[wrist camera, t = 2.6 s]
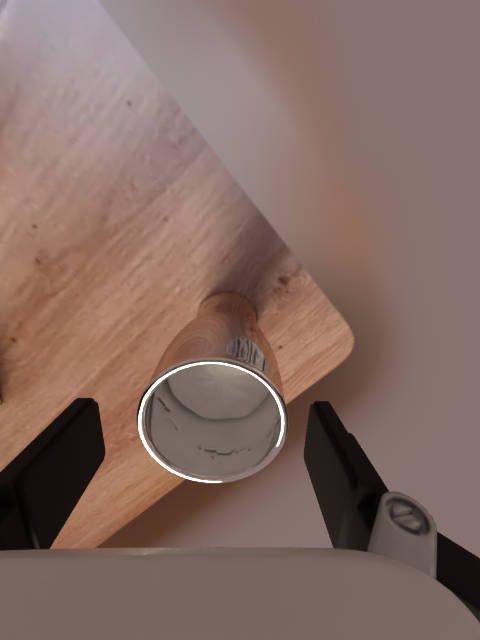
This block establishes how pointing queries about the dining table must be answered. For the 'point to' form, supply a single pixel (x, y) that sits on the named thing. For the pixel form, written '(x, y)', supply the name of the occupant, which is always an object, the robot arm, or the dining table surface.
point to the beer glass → (215, 397)
